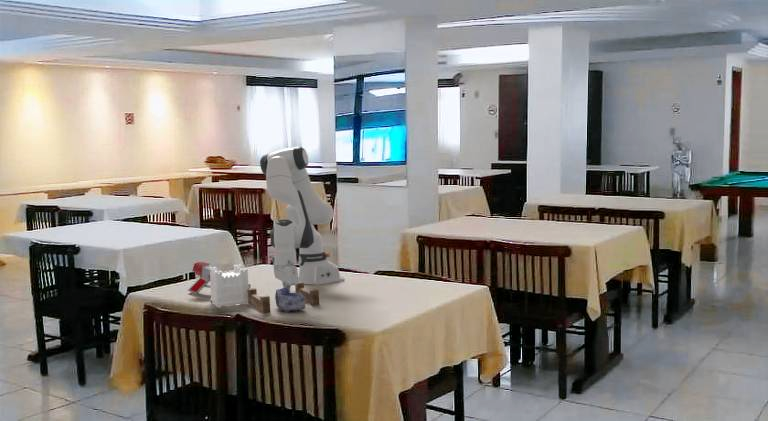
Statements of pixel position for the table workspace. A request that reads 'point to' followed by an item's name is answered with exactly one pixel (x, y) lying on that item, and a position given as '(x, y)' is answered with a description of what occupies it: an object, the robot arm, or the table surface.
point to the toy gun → (202, 277)
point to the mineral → (289, 300)
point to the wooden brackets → (264, 301)
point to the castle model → (229, 286)
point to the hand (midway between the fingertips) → (287, 292)
